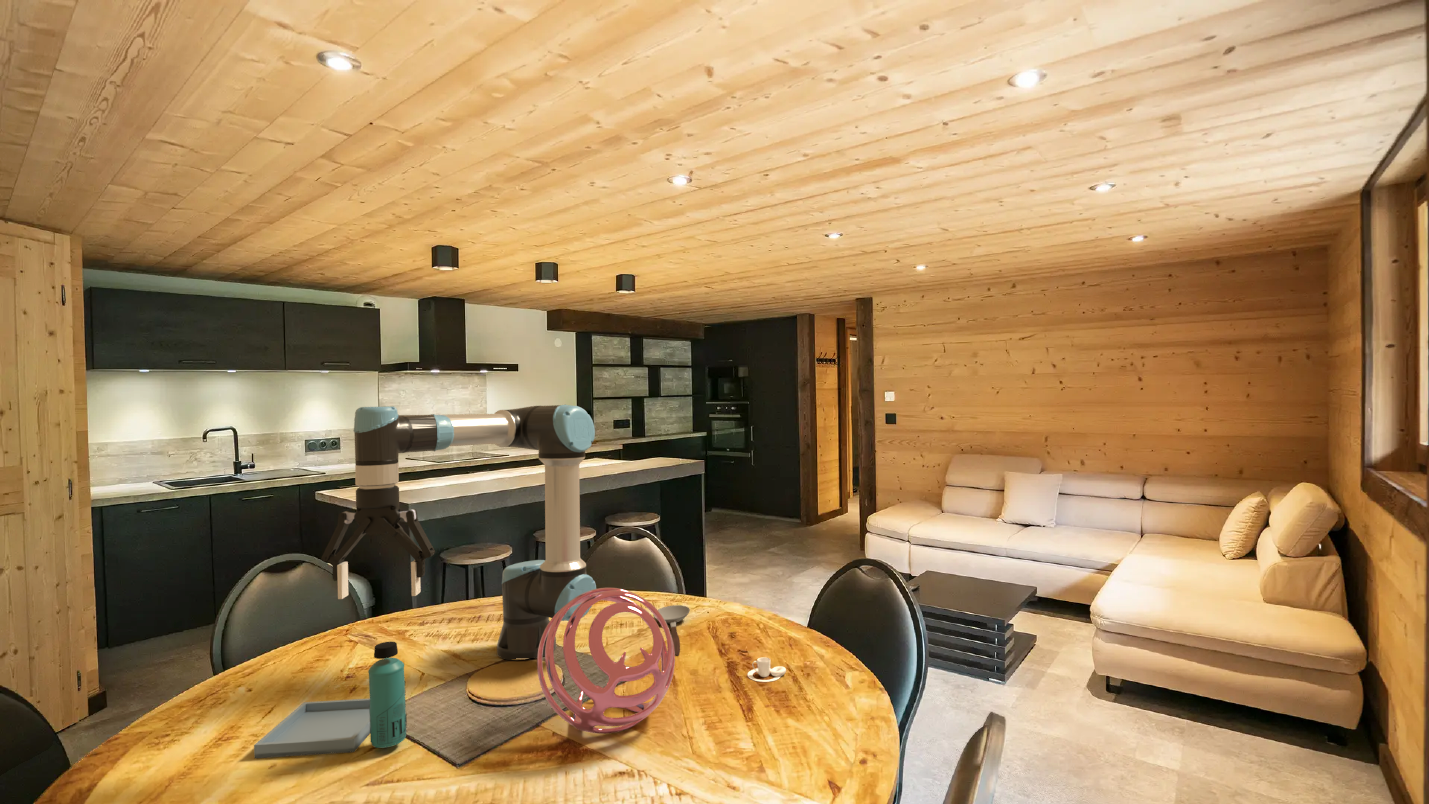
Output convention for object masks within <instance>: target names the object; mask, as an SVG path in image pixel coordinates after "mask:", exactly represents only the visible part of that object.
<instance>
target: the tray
mask: <svg viewBox="0 0 1429 804" xmlns="http://www.w3.org/2000/svg"><path fill="white" fill-rule="evenodd" d="M369 704H370V698H357V699H356V698H355V699H341V700H340V699H338V700H336V699H335V700H322V701H321V700H320V701H305V702H302V703H301V704H300V705H299V706H298V707H296V708H295V709H294V710H293V711H292V712H290V714H289V715H287V716H286V717H285V718H284V719H283V720H281V722H279V723H278V724H277V725H276V726H274V727H273V728H272V729H271V730H270V731H269V732H267V733H266V734H265V735H264V736H263V737H262V738H261V739H259V740H258V741H257V742H255V744H254V745H253V749H254V751H253V755H254V756H253V757H254V759H264V758H265V759H266V758H281V757H282V758H283V757H297V756H298V757H299V756H312V755H313V756H314V755H327V754H329V755H330V754H344V753H346V754H347V753H355V752H356V751H357V749H358V748H359V747H360V746H361V745H362V744H363V742H364V741H365V740H366V739H367V738H368V736H370V733H371V732H370V730H369V728H370V727H369V726H370V725H369V724H370V714H369V713H370V710H369V707H370V705H369Z"/></svg>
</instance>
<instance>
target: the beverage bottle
mask: <svg viewBox="0 0 1429 804" xmlns="http://www.w3.org/2000/svg"><path fill="white" fill-rule="evenodd" d="M398 653H399V650H398V644H397V642H395V641H393V640H392V641H390V640H389V641H383V642H379V643H378V644H376V645H375V646H374V651H373V658H374V659H377V661H375V662H374V663H373V664H372V665H371V666H370V668H369V669H368V672H367V673H368V689H369V690H368V691H369V699H370V704H369V705H370V707H369V710H370V713H369V714H370V724H369V725H370V726H369V727H370V728H369V730H370V732H371V733H370V734H369V739H370V740H369V741H370V743H371V746H372V747H374V748H376V749H377V748H378V749H381V748H382V749H383V748H389V747H393V746H396V745H399V744H400V743H402V742H403V741H404V740H405V739H406V738H407V737H406V736H407V729H408V723H407V722H408V721H407V710H406V709H407V707H406V706H407V704H406V694H407V693H406V692H407V691H406V690H407V689H406V688H407V687H406V681H405V680H406V679H405V663H404V662H403V661H402V660H400V659H399V658H397V657H395V656H396V655H398ZM378 659H379V660H378Z"/></svg>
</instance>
